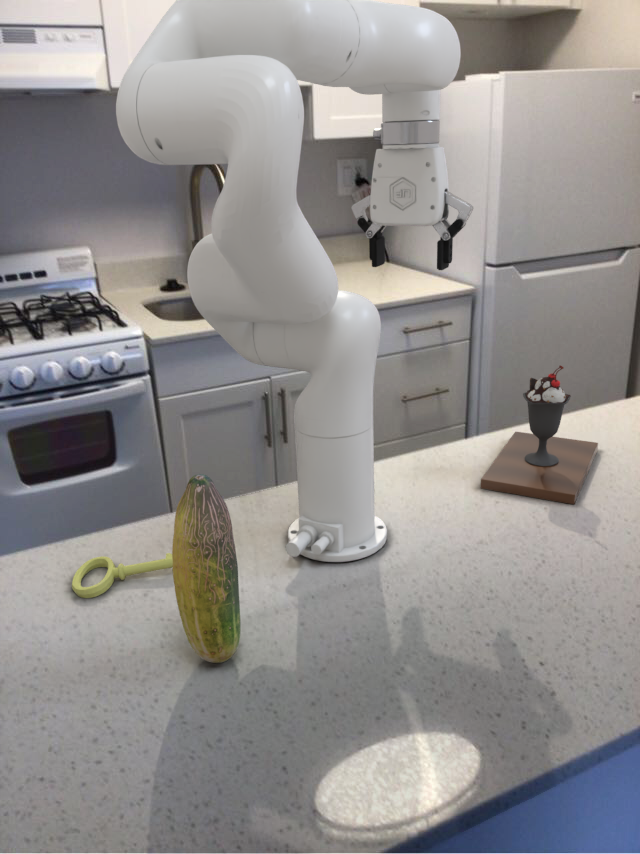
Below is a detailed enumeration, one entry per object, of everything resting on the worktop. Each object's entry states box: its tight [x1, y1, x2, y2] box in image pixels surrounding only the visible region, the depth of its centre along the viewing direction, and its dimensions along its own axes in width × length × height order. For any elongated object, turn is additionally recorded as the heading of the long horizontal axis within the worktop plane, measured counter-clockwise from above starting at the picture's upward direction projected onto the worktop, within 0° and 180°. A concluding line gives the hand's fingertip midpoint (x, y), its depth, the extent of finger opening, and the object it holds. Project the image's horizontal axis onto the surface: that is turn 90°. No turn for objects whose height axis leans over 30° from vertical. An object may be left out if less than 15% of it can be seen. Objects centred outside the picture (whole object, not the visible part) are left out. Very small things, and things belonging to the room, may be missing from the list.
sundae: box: [522, 365, 572, 466], centre depth 110 cm, size 7×7×15 cm
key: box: [71, 552, 173, 599], centre depth 90 cm, size 7×12×2 cm, turn 115°
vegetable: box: [171, 473, 241, 664], centre depth 72 cm, size 6×6×20 cm
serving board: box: [480, 431, 599, 505], centre depth 113 cm, size 20×13×2 cm, turn 153°
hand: (410, 267), depth 106 cm, fingers open, 9 cm apart
